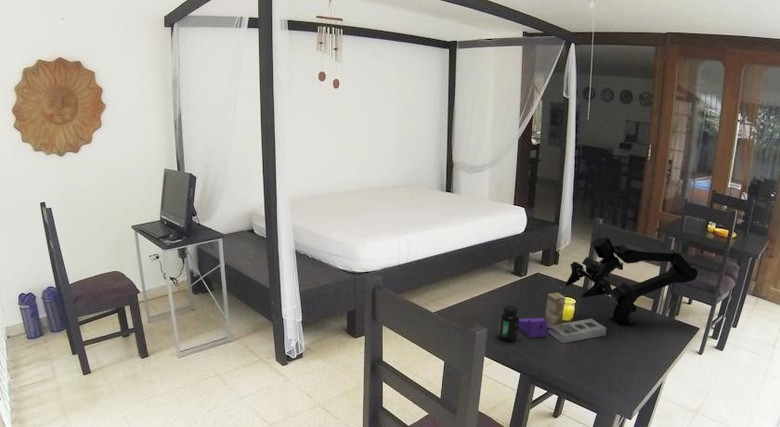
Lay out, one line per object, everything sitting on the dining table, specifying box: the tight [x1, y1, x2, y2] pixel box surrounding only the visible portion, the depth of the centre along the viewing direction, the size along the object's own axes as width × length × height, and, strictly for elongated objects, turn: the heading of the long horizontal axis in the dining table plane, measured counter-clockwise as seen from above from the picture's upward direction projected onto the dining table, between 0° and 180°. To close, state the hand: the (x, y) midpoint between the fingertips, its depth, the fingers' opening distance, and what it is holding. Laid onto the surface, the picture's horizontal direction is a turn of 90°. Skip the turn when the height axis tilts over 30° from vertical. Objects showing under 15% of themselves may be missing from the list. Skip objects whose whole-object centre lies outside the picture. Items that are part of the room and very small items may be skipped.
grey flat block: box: [548, 318, 607, 344], centre depth 187 cm, size 20×8×3 cm, turn 111°
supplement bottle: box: [498, 304, 520, 342], centre depth 182 cm, size 7×7×12 cm
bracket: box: [518, 317, 548, 339], centre depth 189 cm, size 12×7×7 cm, turn 16°
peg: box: [544, 292, 566, 329], centre depth 191 cm, size 4×4×13 cm
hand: (573, 291), depth 190 cm, fingers open, 9 cm apart
